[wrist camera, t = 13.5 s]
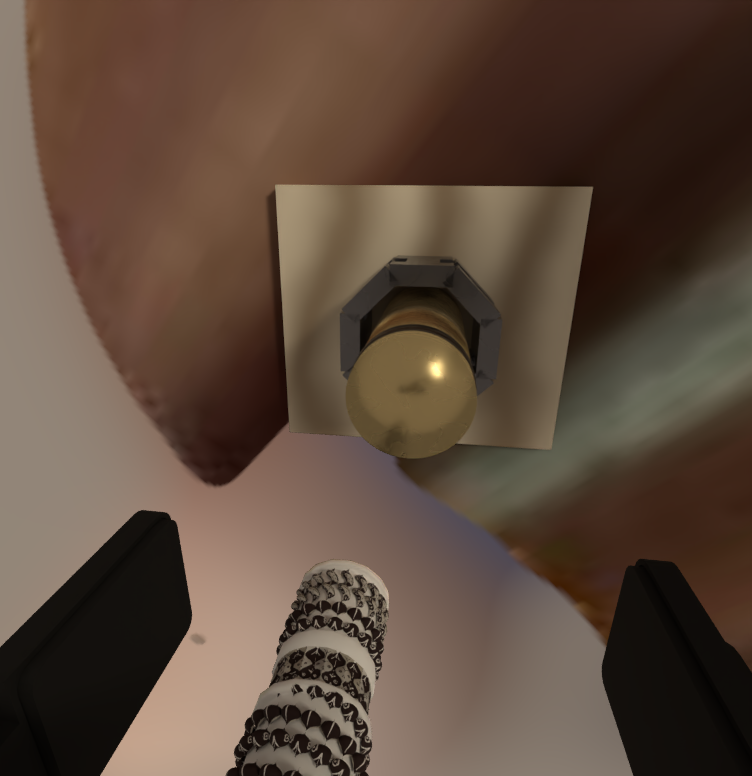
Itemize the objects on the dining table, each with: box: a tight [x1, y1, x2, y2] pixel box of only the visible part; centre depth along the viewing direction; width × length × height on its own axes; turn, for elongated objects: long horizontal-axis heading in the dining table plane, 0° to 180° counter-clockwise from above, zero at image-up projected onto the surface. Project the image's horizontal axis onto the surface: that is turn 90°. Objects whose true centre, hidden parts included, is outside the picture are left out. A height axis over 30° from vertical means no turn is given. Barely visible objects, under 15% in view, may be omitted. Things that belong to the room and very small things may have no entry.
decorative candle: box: [226, 559, 389, 776], centre depth 32 cm, size 9×9×25 cm
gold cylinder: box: [345, 286, 477, 459], centre depth 27 cm, size 6×6×14 cm
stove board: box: [275, 185, 593, 450], centre depth 34 cm, size 20×18×1 cm
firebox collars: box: [340, 255, 502, 396], centre depth 31 cm, size 9×9×6 cm
